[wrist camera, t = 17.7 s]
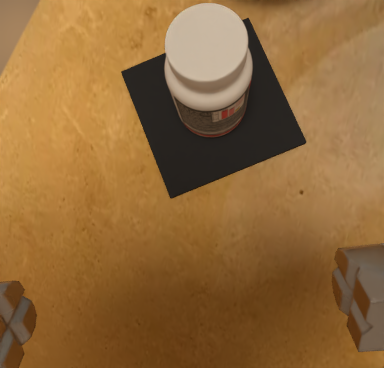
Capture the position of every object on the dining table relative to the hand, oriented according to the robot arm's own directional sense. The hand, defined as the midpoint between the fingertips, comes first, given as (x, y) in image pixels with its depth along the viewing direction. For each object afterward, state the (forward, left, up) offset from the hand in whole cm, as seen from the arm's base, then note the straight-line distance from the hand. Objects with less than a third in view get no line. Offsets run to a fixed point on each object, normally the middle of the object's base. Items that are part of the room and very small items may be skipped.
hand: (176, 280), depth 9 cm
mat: (+5, +11, -19) cm, 22 cm away
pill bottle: (+5, +10, -19) cm, 22 cm away
